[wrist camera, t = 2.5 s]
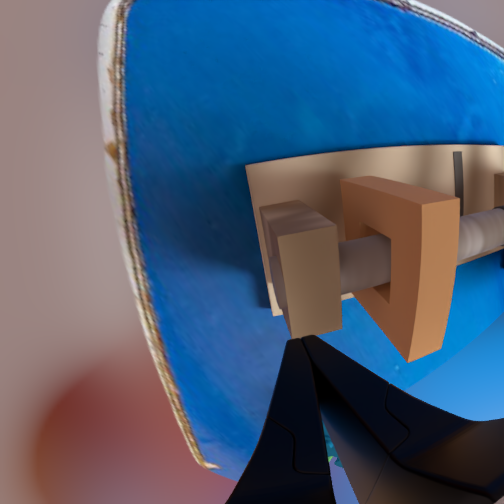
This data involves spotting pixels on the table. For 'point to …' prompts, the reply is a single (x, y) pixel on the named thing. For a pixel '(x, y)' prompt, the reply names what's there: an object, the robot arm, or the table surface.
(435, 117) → the table surface
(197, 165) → the table surface
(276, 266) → the pipe rig
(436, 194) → the collar
